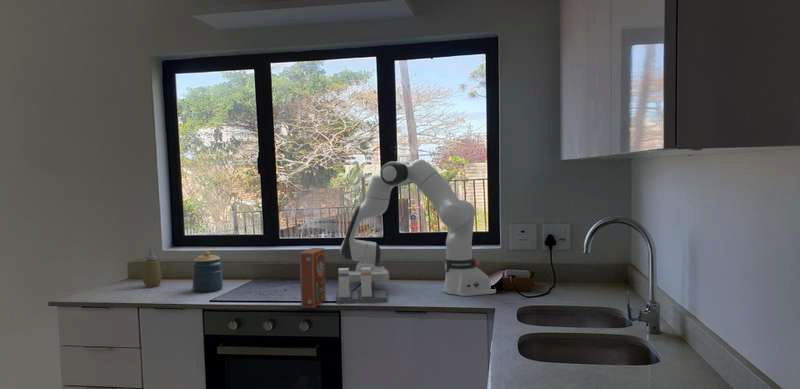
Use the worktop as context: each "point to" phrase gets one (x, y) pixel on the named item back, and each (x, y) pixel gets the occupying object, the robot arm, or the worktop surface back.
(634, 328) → the worktop surface
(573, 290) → the worktop surface
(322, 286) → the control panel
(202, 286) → the canister
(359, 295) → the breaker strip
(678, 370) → the worktop surface
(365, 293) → the breaker toggle
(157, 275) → the squeeze bottle
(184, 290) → the worktop surface
